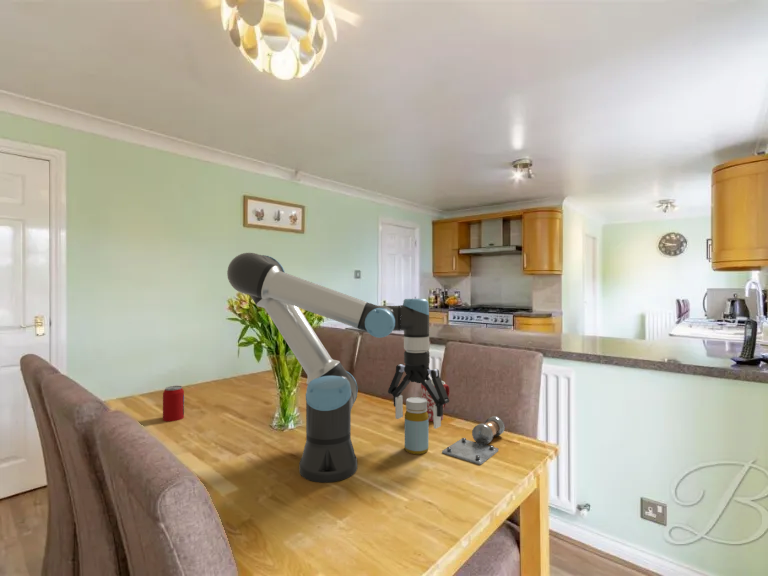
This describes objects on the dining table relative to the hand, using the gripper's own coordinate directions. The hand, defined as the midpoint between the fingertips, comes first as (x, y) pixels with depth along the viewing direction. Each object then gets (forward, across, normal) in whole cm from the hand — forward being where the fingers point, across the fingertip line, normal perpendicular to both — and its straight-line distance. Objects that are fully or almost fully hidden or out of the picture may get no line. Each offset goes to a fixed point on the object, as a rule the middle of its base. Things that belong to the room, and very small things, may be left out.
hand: (417, 422), depth 117 cm
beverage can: (+7, +83, +34) cm, 90 cm away
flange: (+8, -13, -9) cm, 18 cm away
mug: (+9, +11, -29) cm, 32 cm away
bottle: (+8, 0, 0) cm, 9 cm away
